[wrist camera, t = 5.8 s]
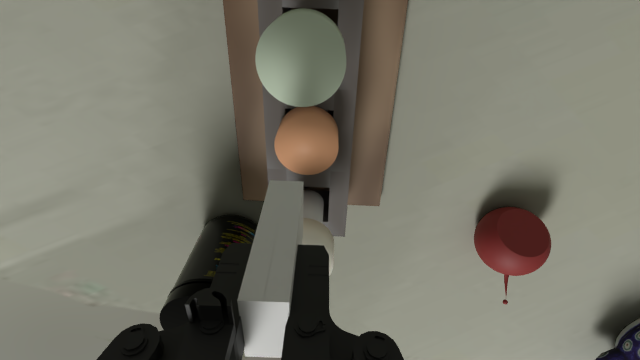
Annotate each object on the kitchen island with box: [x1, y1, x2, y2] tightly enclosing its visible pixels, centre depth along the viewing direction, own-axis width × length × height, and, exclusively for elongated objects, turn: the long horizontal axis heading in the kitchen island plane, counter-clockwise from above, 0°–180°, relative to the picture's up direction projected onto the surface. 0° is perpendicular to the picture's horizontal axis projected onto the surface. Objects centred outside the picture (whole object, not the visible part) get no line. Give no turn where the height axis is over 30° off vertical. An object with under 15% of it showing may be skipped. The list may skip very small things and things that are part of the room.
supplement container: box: [160, 215, 258, 330], centre depth 32 cm, size 7×7×10 cm
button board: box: [223, 0, 408, 237], centre depth 26 cm, size 12×18×6 cm
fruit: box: [474, 207, 551, 304], centre depth 32 cm, size 6×6×8 cm
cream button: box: [302, 190, 334, 275], centre depth 25 cm, size 4×4×6 cm
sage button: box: [255, 8, 346, 107], centre depth 18 cm, size 4×4×6 cm
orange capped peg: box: [274, 106, 339, 175], centre depth 25 cm, size 4×4×6 cm
